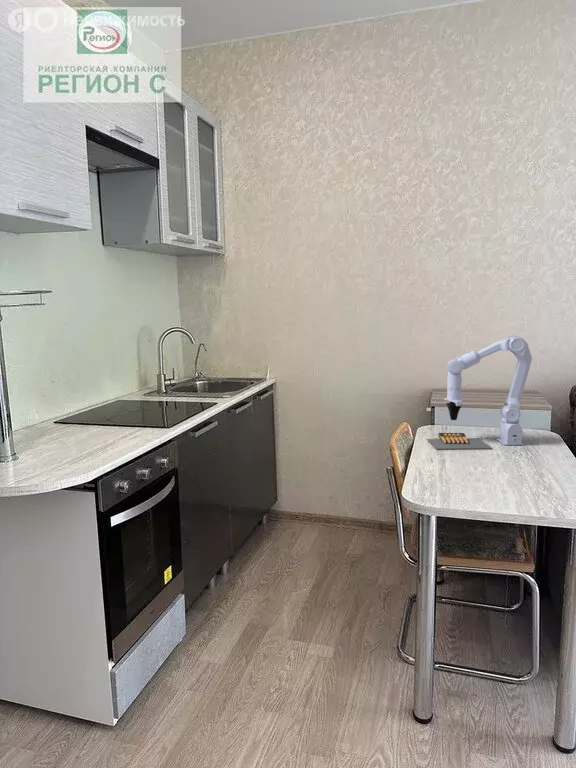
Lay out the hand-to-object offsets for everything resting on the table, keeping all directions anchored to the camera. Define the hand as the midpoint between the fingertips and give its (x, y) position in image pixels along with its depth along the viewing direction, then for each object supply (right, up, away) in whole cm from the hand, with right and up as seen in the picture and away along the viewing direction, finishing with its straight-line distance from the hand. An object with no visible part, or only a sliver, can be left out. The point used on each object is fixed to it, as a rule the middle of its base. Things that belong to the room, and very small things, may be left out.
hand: (453, 419), depth 228 cm
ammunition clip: (0, -7, +4) cm, 8 cm away
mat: (0, -10, -6) cm, 12 cm away
